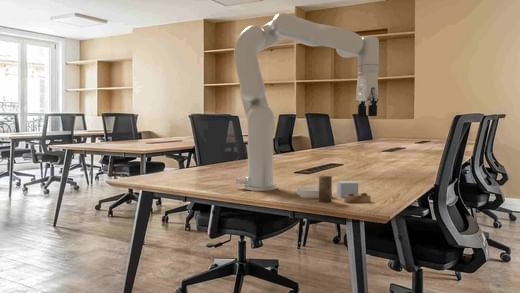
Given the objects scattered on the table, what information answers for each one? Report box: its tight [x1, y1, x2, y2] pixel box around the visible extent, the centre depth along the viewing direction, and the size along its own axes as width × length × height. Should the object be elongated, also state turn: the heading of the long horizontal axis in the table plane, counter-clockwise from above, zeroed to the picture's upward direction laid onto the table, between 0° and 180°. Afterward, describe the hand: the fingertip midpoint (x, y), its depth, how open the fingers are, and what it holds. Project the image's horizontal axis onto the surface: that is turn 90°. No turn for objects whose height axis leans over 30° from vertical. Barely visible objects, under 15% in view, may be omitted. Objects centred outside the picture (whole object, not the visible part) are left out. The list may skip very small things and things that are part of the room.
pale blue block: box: [336, 180, 359, 199], centre depth 145 cm, size 6×4×5 cm, turn 98°
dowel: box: [318, 175, 333, 203], centre depth 136 cm, size 4×4×8 cm
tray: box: [296, 185, 333, 200], centre depth 146 cm, size 10×10×2 cm
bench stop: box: [343, 192, 371, 203], centre depth 136 cm, size 8×2×3 cm, turn 98°
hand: (367, 116), depth 162 cm, fingers open, 9 cm apart
